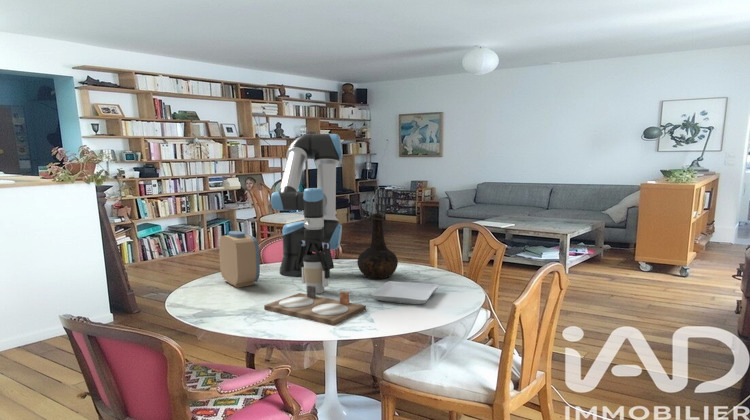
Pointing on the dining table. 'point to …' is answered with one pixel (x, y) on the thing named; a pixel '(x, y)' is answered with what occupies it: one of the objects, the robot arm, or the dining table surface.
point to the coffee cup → (313, 272)
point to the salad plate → (405, 292)
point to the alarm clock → (239, 259)
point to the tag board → (316, 307)
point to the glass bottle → (377, 254)
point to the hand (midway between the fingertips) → (315, 284)
